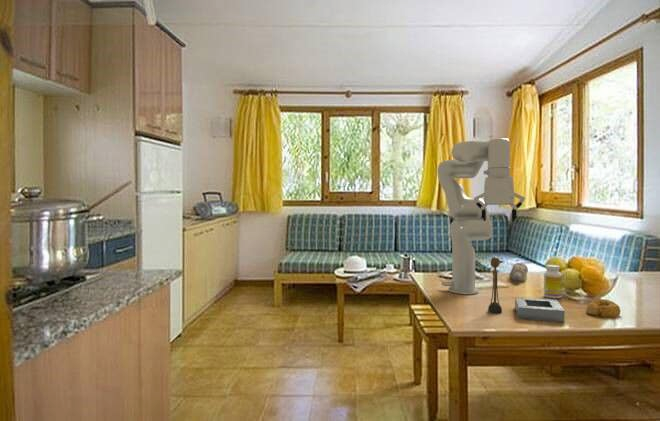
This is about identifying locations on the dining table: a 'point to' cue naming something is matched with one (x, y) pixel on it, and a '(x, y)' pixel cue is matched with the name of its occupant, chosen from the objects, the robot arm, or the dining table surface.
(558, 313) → the tray
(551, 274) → the supplement bottle
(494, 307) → the wooden tabletop sculpture
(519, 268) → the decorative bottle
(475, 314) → the dining table surface
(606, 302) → the bagel
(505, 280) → the dining table surface
